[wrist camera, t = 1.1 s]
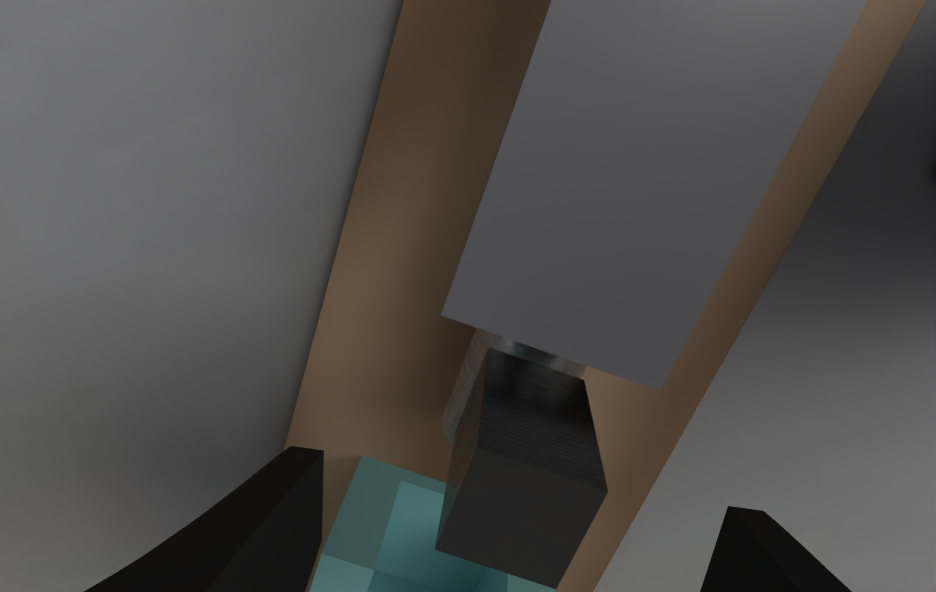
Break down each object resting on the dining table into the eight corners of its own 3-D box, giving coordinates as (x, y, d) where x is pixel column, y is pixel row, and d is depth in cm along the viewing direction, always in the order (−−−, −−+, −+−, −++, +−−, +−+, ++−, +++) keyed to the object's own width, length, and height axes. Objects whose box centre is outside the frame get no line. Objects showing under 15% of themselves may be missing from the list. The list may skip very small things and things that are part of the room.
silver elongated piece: (776, -92, 13) (1041, -264, 6) (542, 422, 18) (555, 623, 11) (648, -141, 13) (783, -368, 6) (448, 390, 18) (406, 575, 11)
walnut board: (1010, -193, 14) (1047, -213, 13) (527, 682, 25) (528, 706, 24) (517, -390, 13) (517, -426, 12) (250, 592, 24) (239, 613, 23)
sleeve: (860, -195, 13) (1052, -348, 8) (622, 306, 17) (659, 391, 13) (647, -279, 13) (721, -484, 8) (462, 250, 17) (440, 315, 13)
